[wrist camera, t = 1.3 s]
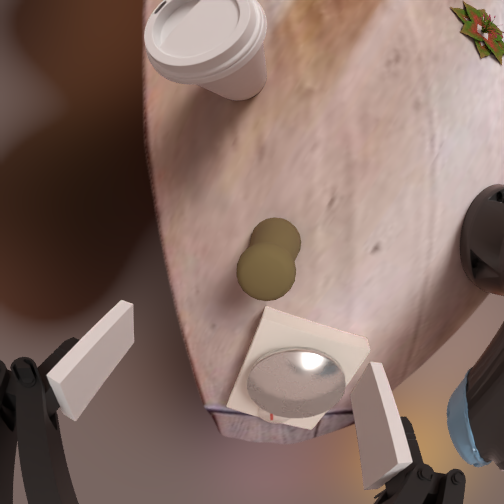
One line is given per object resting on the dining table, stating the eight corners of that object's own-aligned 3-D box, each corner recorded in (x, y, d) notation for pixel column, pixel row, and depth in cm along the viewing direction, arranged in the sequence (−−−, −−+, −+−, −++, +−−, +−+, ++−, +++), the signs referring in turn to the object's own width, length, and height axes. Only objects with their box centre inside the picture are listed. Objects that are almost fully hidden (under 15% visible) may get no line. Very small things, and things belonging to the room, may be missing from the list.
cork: (282, 275, 34) (273, 323, 24) (241, 248, 34) (215, 286, 24) (311, 236, 32) (315, 271, 22) (268, 207, 32) (251, 229, 22)
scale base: (366, 337, 35) (371, 355, 31) (311, 417, 41) (311, 434, 38) (265, 305, 36) (261, 321, 32) (230, 394, 42) (224, 411, 39)
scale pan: (362, 361, 31) (363, 367, 30) (319, 419, 36) (319, 425, 34) (266, 333, 32) (264, 339, 31) (237, 397, 36) (236, 403, 35)
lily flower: (435, 0, 18) (446, -13, 14) (482, 3, 15) (494, -7, 11) (477, 69, 21) (493, 62, 16) (518, 66, 17) (534, 61, 13)
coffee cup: (253, 30, 25) (221, -41, 11) (296, 87, 27) (291, 29, 13) (187, 69, 28) (119, 24, 14) (224, 127, 30) (165, 103, 16)
